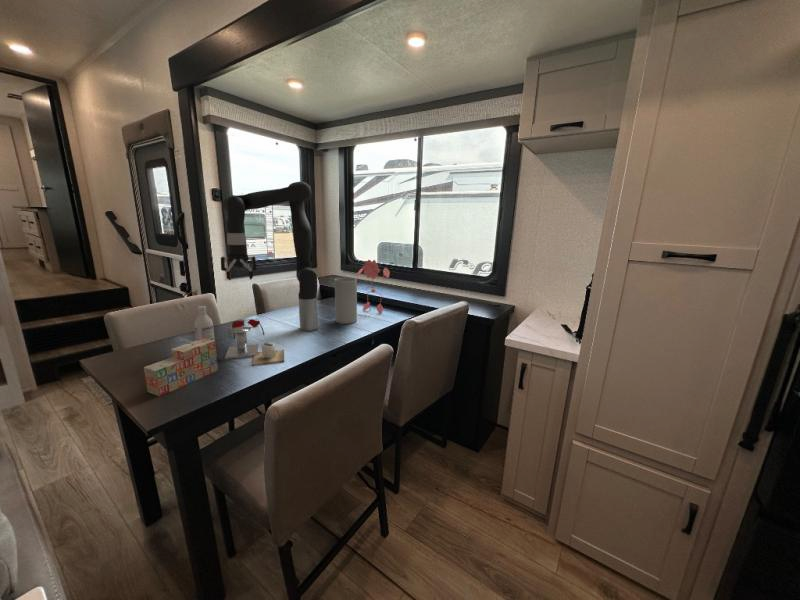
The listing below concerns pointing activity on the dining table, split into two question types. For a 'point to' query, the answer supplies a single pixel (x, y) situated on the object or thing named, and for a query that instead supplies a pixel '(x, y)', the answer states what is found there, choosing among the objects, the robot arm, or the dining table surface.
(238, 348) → the knob on square base
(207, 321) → the bath foam
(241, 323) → the glasses
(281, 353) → the coaster
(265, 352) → the cap
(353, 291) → the cylinder vase
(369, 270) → the figurine
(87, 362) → the dining table surface
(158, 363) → the stack of blocks
